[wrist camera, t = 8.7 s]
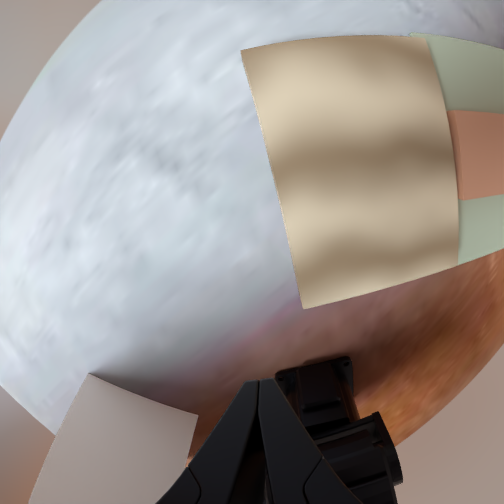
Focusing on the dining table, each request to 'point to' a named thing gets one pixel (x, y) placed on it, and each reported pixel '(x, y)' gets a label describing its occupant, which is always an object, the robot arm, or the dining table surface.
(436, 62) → the mat
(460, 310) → the dining table surface
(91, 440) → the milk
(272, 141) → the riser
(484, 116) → the tile
